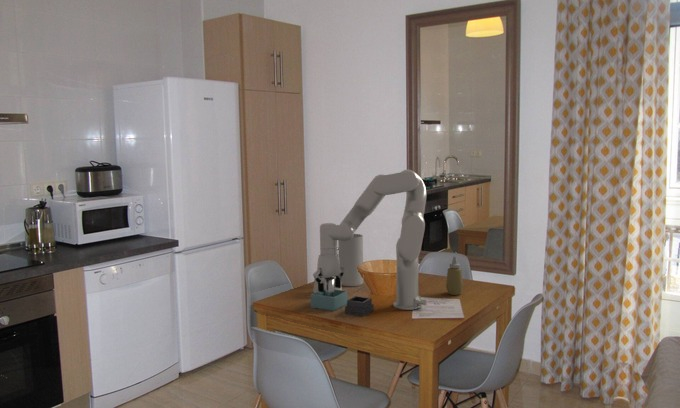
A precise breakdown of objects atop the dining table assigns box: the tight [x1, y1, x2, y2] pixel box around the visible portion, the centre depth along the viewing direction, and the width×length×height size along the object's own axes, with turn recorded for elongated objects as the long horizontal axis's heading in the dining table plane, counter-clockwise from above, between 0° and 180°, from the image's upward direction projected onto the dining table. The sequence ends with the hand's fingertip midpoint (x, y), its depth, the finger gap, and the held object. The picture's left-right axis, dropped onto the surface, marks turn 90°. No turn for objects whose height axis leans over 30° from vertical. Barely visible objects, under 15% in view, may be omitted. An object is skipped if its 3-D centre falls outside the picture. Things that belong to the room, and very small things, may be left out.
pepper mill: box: [325, 276, 334, 297], centre depth 248 cm, size 5×5×13 cm
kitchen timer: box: [312, 276, 343, 294], centre depth 268 cm, size 14×14×15 cm
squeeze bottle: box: [445, 255, 464, 296], centre depth 265 cm, size 8×8×18 cm
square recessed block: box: [344, 295, 375, 317], centre depth 239 cm, size 9×9×6 cm
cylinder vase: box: [337, 233, 364, 287], centre depth 286 cm, size 12×12×25 cm
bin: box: [310, 288, 349, 312], centre depth 249 cm, size 12×12×6 cm
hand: (329, 289), depth 248 cm, fingers open, 9 cm apart
